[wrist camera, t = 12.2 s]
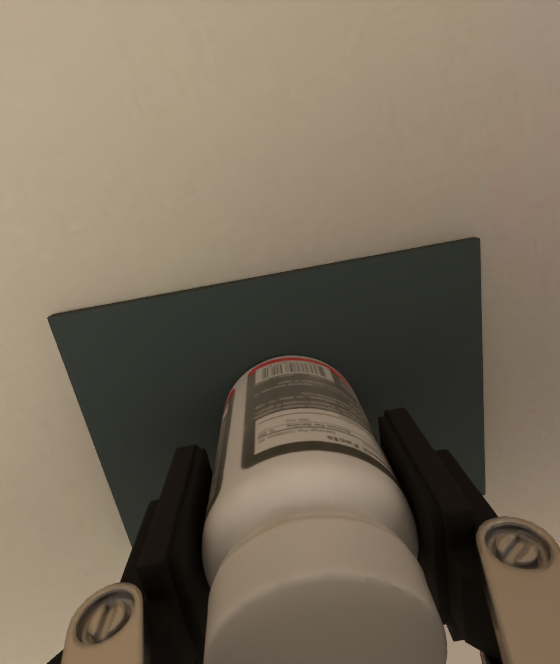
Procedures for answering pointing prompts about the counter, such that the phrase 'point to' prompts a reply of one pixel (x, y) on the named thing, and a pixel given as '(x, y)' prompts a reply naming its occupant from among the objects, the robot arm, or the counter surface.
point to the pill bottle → (310, 531)
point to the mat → (275, 341)
